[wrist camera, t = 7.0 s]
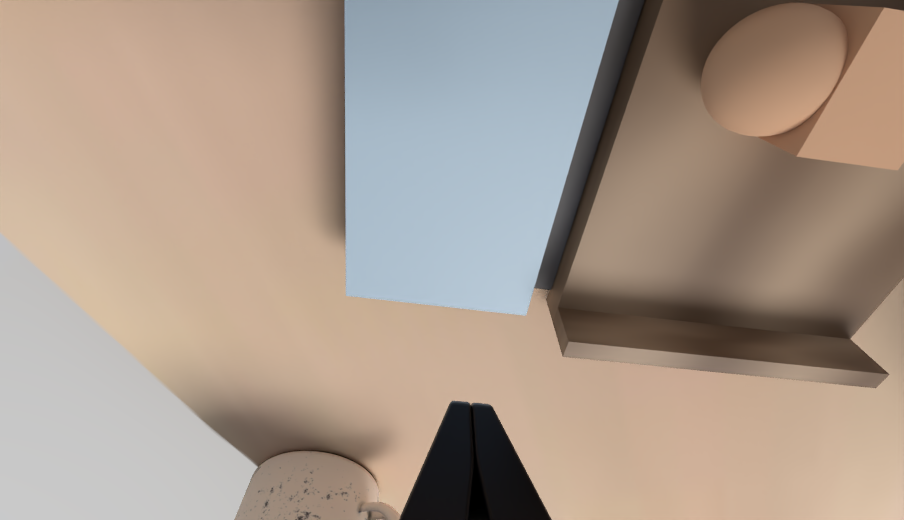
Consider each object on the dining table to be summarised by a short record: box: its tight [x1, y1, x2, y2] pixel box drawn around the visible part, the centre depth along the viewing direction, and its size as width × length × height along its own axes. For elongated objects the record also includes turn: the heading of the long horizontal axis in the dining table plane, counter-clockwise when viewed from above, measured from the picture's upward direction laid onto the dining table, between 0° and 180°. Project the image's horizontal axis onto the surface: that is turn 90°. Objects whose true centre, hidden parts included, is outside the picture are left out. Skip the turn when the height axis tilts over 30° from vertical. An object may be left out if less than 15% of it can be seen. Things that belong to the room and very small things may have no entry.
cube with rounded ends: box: [701, 2, 904, 170], centre depth 11 cm, size 7×3×3 cm, turn 82°
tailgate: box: [345, 0, 619, 316], centre depth 14 cm, size 1×14×8 cm
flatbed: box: [534, 0, 904, 388], centre depth 15 cm, size 14×17×4 cm
